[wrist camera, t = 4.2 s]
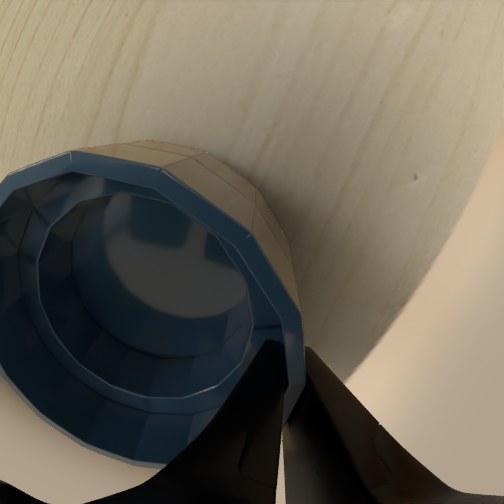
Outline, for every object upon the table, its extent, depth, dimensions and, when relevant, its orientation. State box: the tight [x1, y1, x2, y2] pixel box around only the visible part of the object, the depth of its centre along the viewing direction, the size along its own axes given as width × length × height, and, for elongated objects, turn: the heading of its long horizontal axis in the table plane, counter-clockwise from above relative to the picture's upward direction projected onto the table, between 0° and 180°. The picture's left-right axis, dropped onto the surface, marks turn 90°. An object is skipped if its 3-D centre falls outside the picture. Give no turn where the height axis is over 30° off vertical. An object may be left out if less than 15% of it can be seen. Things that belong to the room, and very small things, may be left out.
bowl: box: [0, 140, 307, 469], centre depth 9 cm, size 9×9×5 cm
